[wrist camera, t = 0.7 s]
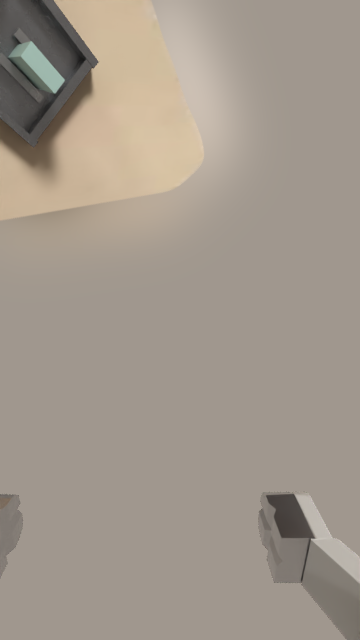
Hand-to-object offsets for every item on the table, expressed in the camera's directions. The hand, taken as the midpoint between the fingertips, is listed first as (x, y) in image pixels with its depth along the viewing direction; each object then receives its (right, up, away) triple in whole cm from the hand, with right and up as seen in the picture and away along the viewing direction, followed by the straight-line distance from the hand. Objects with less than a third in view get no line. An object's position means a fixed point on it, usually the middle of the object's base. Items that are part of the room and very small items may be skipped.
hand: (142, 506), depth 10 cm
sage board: (-18, +38, +28) cm, 51 cm away
